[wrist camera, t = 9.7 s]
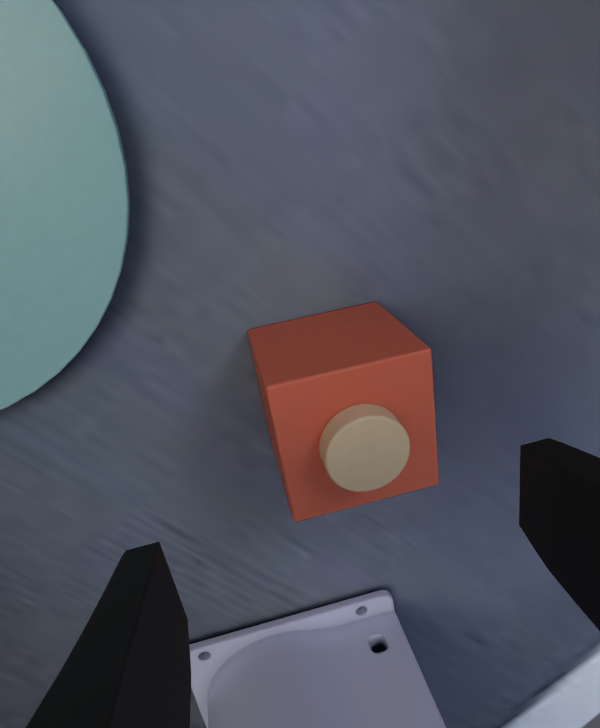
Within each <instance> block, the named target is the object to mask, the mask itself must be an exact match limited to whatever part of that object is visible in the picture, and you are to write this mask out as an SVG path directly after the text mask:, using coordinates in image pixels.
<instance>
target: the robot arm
mask: <svg viewBox="0 0 600 728" xmlns="http://www.w3.org/2000/svg"><path fill="white" fill-rule="evenodd" d="M519 525H520V527H521V528H522V530H523V532H524V533H525V535H526V536H527V538H528V539H529V541H530V543H531V544H532V546H533V547H534V549H535V550H536V552H537V553H538V555H539V556H540V558H541V559H542V561H543V562H544V564H545V565H546V567H547V568H548V570H549V571H550V572H551V573H552V575H553V576H554V577H555V578H556V580H557V581H558V582H559V583H560V584H561V586H562V587H563V588H564V589H565V590H566V592H567V593H568V594H569V595H570V596H571V598H572V599H573V600H574V601H575V602H576V604H577V605H578V606H579V607H580V608H581V609H582V611H583V612H584V613H585V614H586V615H587V617H588V618H589V619H590V620H591V621H592V622H593V624H594V625H595V626H596V627H597V628H598V629H599V631H600V458H598V457H596V456H593V455H591V454H589V453H586V452H584V451H581V450H579V449H576V448H574V447H571V446H569V445H566V444H564V443H561V442H558V441H556V440H553V439H550V438H547V439H543V440H540V441H536V442H532V443H528V444H525V445H521V449H520V510H519ZM361 606H362V607H361ZM359 607H360V608H359ZM191 689H192V691H193V694H194V696H195V699H196V702H197V704H198V707H199V710H200V712H201V715H202V717H203V720H204V723H205V725H206V728H446V726H445V724H444V722H443V720H442V717H441V715H440V713H439V710H438V708H437V706H436V704H435V701H434V699H433V697H432V695H431V692H430V690H429V688H428V685H427V683H426V681H425V679H424V676H423V674H422V672H421V670H420V667H419V665H418V663H417V660H416V658H415V656H414V654H413V651H412V649H411V647H410V645H409V642H408V640H407V638H406V635H405V633H404V631H403V629H402V626H401V624H400V622H399V620H398V617H397V615H396V613H395V611H394V602H393V599H392V596H391V594H390V592H388V591H387V590H379V591H375V592H372V593H368V594H365V595H361V596H358V597H354V598H351V599H347V600H344V601H340V602H337V603H333V604H330V605H326V606H323V607H319V608H316V609H312V610H309V611H305V612H302V613H298V614H295V615H291V616H288V617H284V618H281V619H277V620H274V621H270V622H267V623H263V624H260V625H256V626H253V627H249V628H246V629H242V630H239V631H235V632H232V633H228V634H225V635H221V636H218V637H214V638H211V639H207V640H204V641H200V642H197V643H193V644H190V645H189V633H188V620H187V617H186V614H185V611H184V608H183V606H182V603H181V600H180V597H179V595H178V592H177V589H176V586H175V584H174V581H173V578H172V575H171V573H170V570H169V567H168V564H167V562H166V559H165V556H164V554H163V551H162V548H161V545H160V543H159V542H156V543H153V544H149V545H145V546H141V547H137V548H134V549H130V550H126V551H125V553H124V554H123V556H122V557H121V559H120V561H119V563H118V565H117V567H116V569H115V571H114V573H113V575H112V577H111V579H110V581H109V583H108V585H107V587H106V589H105V591H104V593H103V595H102V597H101V598H100V600H99V602H98V604H97V606H96V608H95V610H94V612H93V614H92V616H91V617H90V619H89V621H88V623H87V625H86V627H85V628H84V630H83V632H82V634H81V636H80V637H79V639H78V641H77V643H76V645H75V646H74V648H73V650H72V652H71V654H70V655H69V657H68V659H67V661H66V662H65V664H64V666H63V668H62V669H61V671H60V673H59V674H58V676H57V678H56V679H55V681H54V682H53V684H52V686H51V687H50V689H49V691H48V692H47V694H46V695H45V697H44V699H43V700H42V702H41V704H40V705H39V707H38V709H37V710H36V712H35V713H34V715H33V717H32V718H31V720H30V721H29V723H28V725H27V726H26V728H189V727H190V701H191Z"/></svg>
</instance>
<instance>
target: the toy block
mask: <svg viewBox="0 0 600 728" xmlns="http://www.w3.org/2000/svg"><path fill="white" fill-rule="evenodd" d="M248 337H249V342H250V347H251V351H252V356H253V360H254V365H255V370H256V374H257V379H258V384H259V388H260V393H261V397H262V402H263V407H264V411H265V416H266V421H267V425H268V430H269V434H270V439H271V443H272V447H273V451H274V454H275V458H276V461H277V465H278V468H279V472H280V476H281V479H282V483H283V486H284V490H285V494H286V497H287V501H288V504H289V508H290V512H291V515H292V519H293V520H294V522H299V521H303V520H307V519H310V518H314V517H318V516H322V515H325V514H329V513H333V512H337V511H341V510H344V509H348V508H352V507H356V506H359V505H363V504H367V503H371V502H374V501H378V500H382V499H386V498H390V497H393V496H397V495H401V494H405V493H408V492H412V491H416V490H420V489H424V488H427V487H431V486H435V485H438V484H439V474H438V456H437V439H436V422H435V404H434V387H433V369H432V352H431V349H430V348H429V347H428V346H427V345H426V344H425V343H424V342H422V341H421V340H420V339H419V338H418V337H417V336H415V335H414V334H413V333H412V332H411V331H410V330H409V329H407V328H406V327H405V326H404V325H403V324H402V323H400V322H399V321H398V320H397V319H396V318H395V317H393V316H392V315H391V314H390V313H389V312H388V311H387V310H385V309H384V308H383V307H382V306H381V305H380V304H378V303H377V302H372V303H367V304H363V305H358V306H354V307H349V308H345V309H340V310H336V311H331V312H326V313H322V314H317V315H313V316H308V317H304V318H299V319H295V320H290V321H286V322H281V323H276V324H272V325H267V326H263V327H258V328H254V329H250V330H248Z"/></svg>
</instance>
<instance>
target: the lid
mask: <svg viewBox="0 0 600 728" xmlns="http://www.w3.org/2000/svg"><path fill="white" fill-rule="evenodd" d="M129 216H130V196H129V184H128V173H127V165H126V160H125V156H124V151H123V146H122V142H121V137H120V132H119V128H118V126H117V123H116V120H115V117H114V114H113V111H112V108H111V105H110V102H109V99H108V96H107V94H106V91H105V89H104V87H103V85H102V82H101V80H100V78H99V76H98V74H97V72H96V70H95V68H94V66H93V63H92V61H91V59H90V57H89V55H88V53H87V51H86V49H85V48H84V46H83V45H82V43H81V41H80V40H79V38H78V36H77V35H76V33H75V32H74V30H73V28H72V27H71V25H70V23H69V22H68V20H67V19H66V17H65V15H64V14H63V12H62V11H61V10H60V8H59V7H58V6H57V4H56V3H55V2H54V0H0V410H1V409H4V408H6V407H9V406H11V405H12V404H14V403H16V402H18V401H19V400H21V399H23V398H24V397H26V396H28V395H30V394H31V393H33V392H35V391H36V390H38V389H39V388H40V387H42V386H43V385H44V384H45V383H47V382H48V381H49V380H51V379H52V378H53V377H54V376H56V375H57V374H58V373H60V372H61V371H62V370H63V369H64V367H65V366H66V365H67V364H68V363H69V362H70V361H71V360H72V359H73V358H74V357H75V356H76V355H77V354H78V353H79V352H80V351H81V349H82V348H83V347H84V345H85V344H86V342H87V341H88V340H89V338H90V337H91V335H92V334H93V333H94V331H95V330H96V328H97V327H98V325H99V323H100V321H101V319H102V317H103V315H104V313H105V312H106V310H107V308H108V306H109V304H110V302H111V300H112V298H113V295H114V292H115V289H116V286H117V283H118V280H119V277H120V274H121V271H122V268H123V264H124V258H125V253H126V248H127V242H128V237H129Z"/></svg>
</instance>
